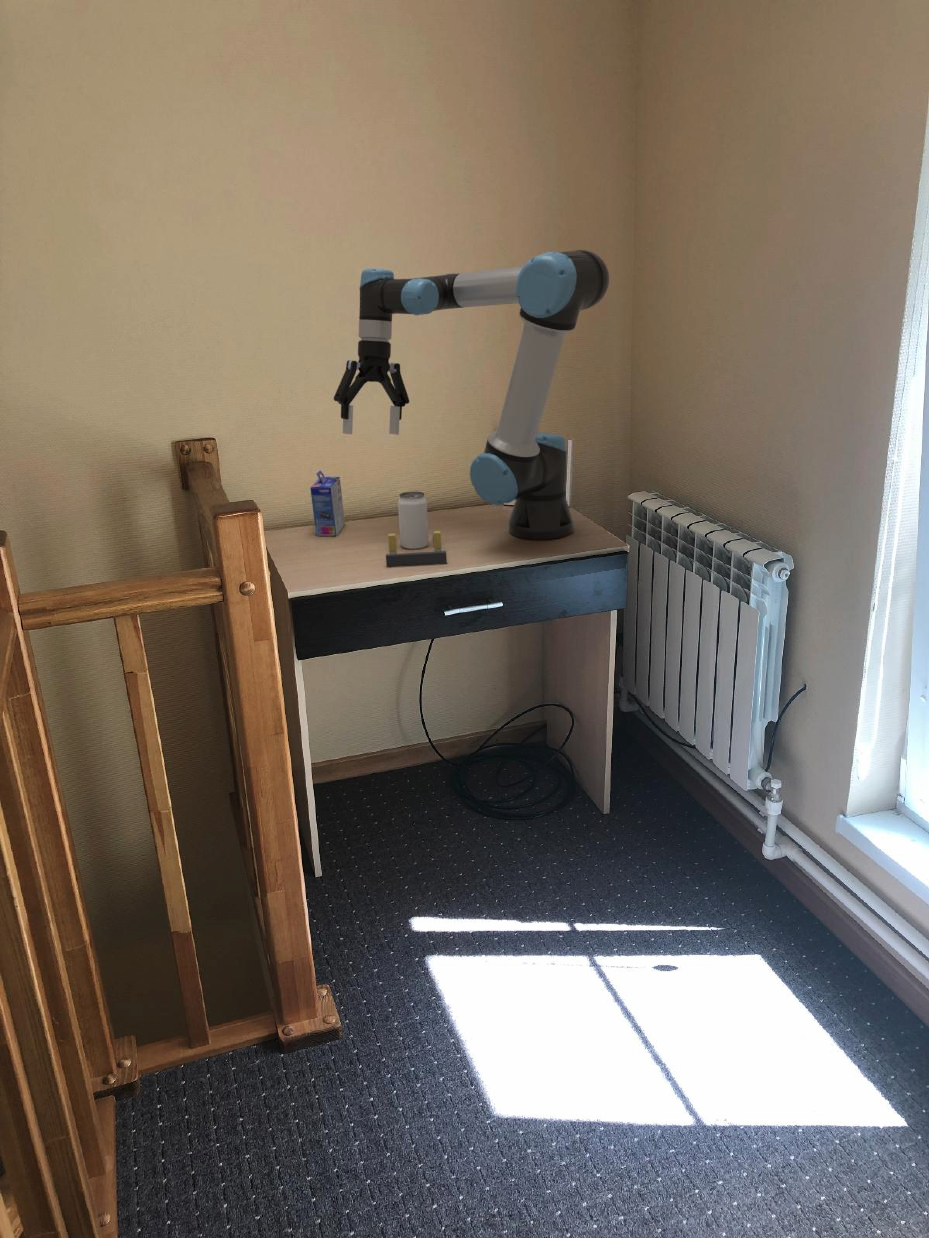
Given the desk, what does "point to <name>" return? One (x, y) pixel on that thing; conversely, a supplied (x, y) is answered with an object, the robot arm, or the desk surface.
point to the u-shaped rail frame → (416, 554)
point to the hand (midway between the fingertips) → (371, 434)
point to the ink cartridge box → (327, 505)
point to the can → (413, 520)
